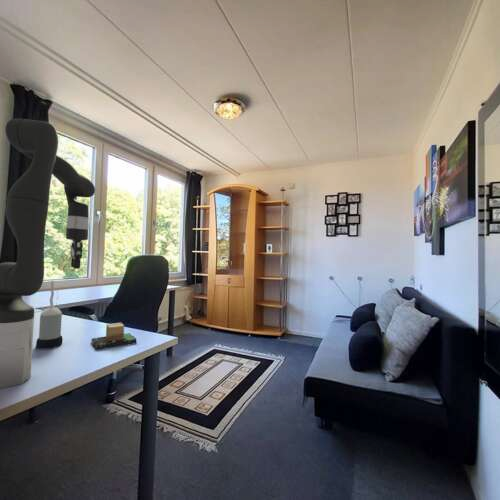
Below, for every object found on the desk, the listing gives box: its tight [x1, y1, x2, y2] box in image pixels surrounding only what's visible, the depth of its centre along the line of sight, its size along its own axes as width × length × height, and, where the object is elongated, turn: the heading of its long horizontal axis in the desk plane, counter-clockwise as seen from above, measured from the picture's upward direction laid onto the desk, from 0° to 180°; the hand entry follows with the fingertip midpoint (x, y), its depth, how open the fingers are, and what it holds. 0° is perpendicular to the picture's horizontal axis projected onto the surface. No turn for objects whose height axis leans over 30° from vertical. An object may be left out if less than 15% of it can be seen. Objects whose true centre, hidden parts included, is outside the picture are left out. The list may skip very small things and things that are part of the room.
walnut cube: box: [105, 322, 125, 341], centre depth 109 cm, size 6×6×6 cm
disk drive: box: [90, 332, 137, 351], centre depth 108 cm, size 10×3×15 cm
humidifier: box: [35, 280, 64, 350], centre depth 103 cm, size 8×8×25 cm
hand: (75, 267), depth 108 cm, fingers open, 8 cm apart
